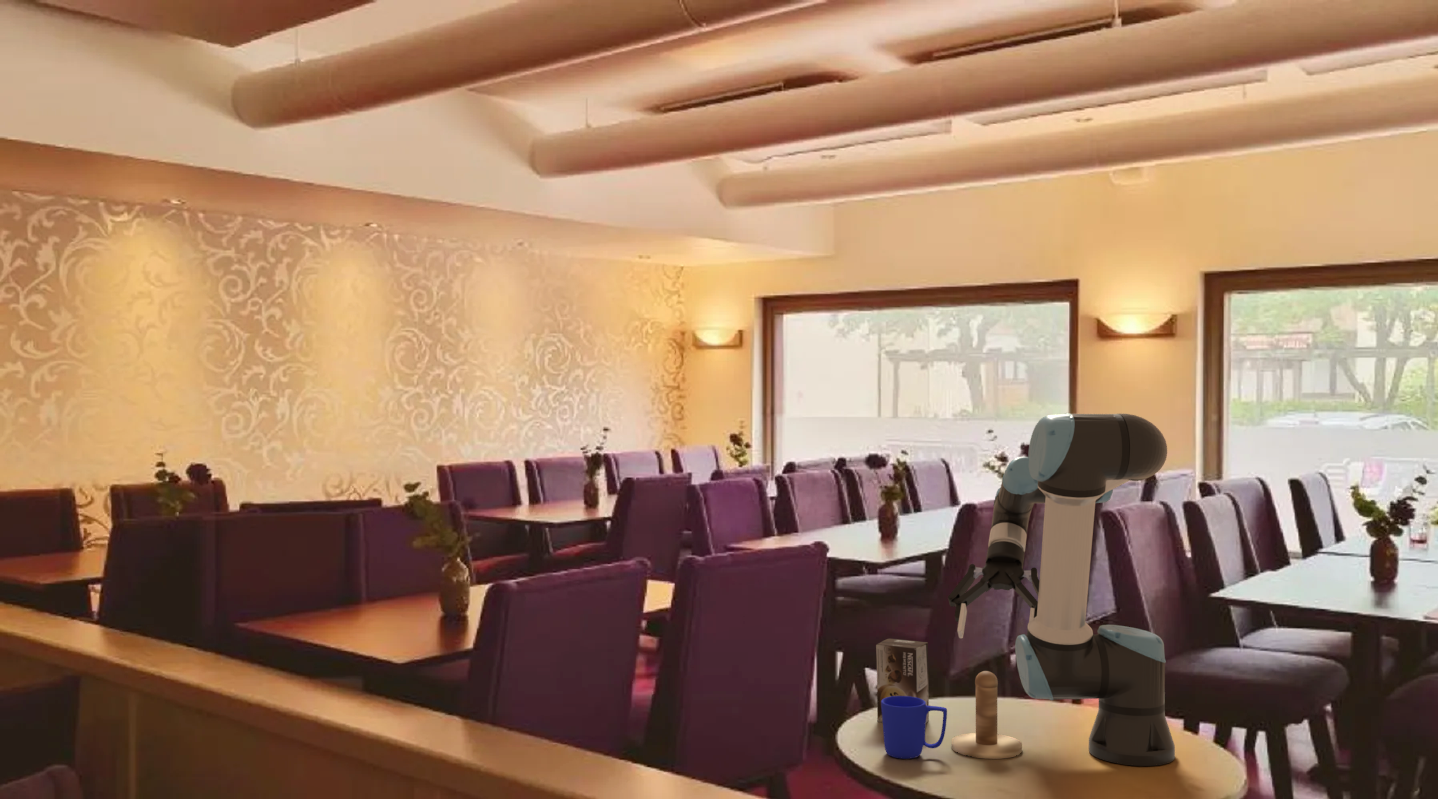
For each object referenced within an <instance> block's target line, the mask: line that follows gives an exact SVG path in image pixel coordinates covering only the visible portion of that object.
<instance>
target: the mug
mask: <svg viewBox="0 0 1438 799" xmlns="http://www.w3.org/2000/svg"><path fill="white" fill-rule="evenodd" d="M881 708H882V720H883V722H882V730H883V744H884V750H885V753H886V754H887V755H888V756H890V757H892V758H896V759H905V760H910V759H914V758H917V757H920V755H921V754H922V752H923V748H924V747H925V748H928V749H937V748H938V747H940V746H941V745H942V743H943V741H944V737H945V734H946V727H947V718H948V709H947V708H946V707H944V706H936V705H929V706H927V705H926V702H925V701H924V700H922V699H920V698H916V697H910V696H891V697H887V698H884V699H882V700H881ZM932 711H934V712H935V711H937V712H941V713H942V714H943V715H942V725H941V726H942V727H941V732H940V736H939V739H938V741H936V742H935V743H927V742H926V724H927V722H926V716H927V713H928V712H929V713H930V712H932Z"/></svg>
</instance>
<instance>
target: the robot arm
mask: <svg viewBox="0 0 1438 799" xmlns="http://www.w3.org/2000/svg"><path fill="white" fill-rule="evenodd" d="M1030 436H1031V437H1030V440H1029V447H1028V454H1027V455H1028V456H1017V457H1016V458H1014V459H1012V460H1011V461H1010V462H1009V463H1008V465H1007V467H1006V468H1005V471H1004V474H1003V475H1002V476H1003V477H1002V478H1001V485H1000V487H999V488H998V489H997V491H996V494H995V497H994V500H993V512H992V518H991V528H990V531H989V538H988V543H987V545H988V548H987V551H986V552H987V553H986V559H985V565H984V566H983V567H979V566H978V567H977V566H976V565H975V563H971V564H969V566H968V568H967V569H968V570H967V571H966V573H965V575H963V577H962V578H961V580H960V581H959V582H958V583H957V585H956V586H955V587H954V588H953V589H952V591H950V593H949V595H947V599H948V600H947V601H948V603H949V606H950V607H955V609H954V619H955V622H956V623H958V624H957V630H956V632H957V635H958V638H959V639H963V638H964V633H965V627H966V626H965V625H966V620H967V614H968V609H967V607H968V606H969V605H970V604H972V603H973V602H974V601H975V600H976V599H977V598H979V597H980V596H982V595H983V594H984V593H987V592H989V591H990V590H991V589H994V591H995V590H996V591H997V590H1004V591H1010V590H1012V589H1013V590H1014V591H1015V593H1016V594H1017V595H1019V596H1020V598H1021V599H1023V601H1024V602H1025V603H1026V604H1027V606H1029V608H1030V612H1029V619H1028V623H1027V627H1026V628H1027V630H1026V634H1025V633H1023V634H1020V635H1017V637H1016V639H1015V645H1014V648H1015V650H1014V652H1015V659H1016V660H1015V661H1016V666H1017V672H1018V675H1019V678H1020V682H1021V685H1022V687H1023V689H1024V690H1023V691H1024V692H1025V693H1026V694H1027V695H1028V696H1029V697H1030V698H1032V699H1039V700H1050V701H1054V700H1081V699H1082V700H1085V699H1086V700H1089V699H1090V700H1091V699H1095V700H1096V699H1098V709H1097V710H1098V711H1097V713H1096V716H1095V720H1094V723H1093V726H1092V727H1091V732H1090V734H1089V737H1088V751H1089V753H1090V754H1091V755H1092V756H1093V757H1096V758H1097V759H1099V760H1103V761H1105V762H1109V763H1112V764H1118V765H1125V766H1126V765H1127V766H1135V767H1136V766H1137V767H1150V766H1151V767H1152V766H1153V767H1154V766H1162V765H1166V764H1169V763H1171V762H1173V761H1174V760H1175V759H1176V752H1175V751H1176V747H1175V742H1174V740H1173V736H1172V733H1171V731H1170V727H1169V724H1168V721H1167V718H1166V714H1165V712H1166V710H1165V706H1166V704H1165V703H1166V702H1165V697H1166V696H1165V694H1166V692H1165V691H1166V690H1165V689H1166V688H1165V687H1166V686H1165V685H1166V683H1165V682H1166V663H1167V661H1166V658H1165V657H1166V656H1165V654H1166V653H1165V644H1164V640H1163V639H1162V638H1161V637H1160V635H1157V634H1156V633H1154V632H1151V631H1149V630H1144V629H1141V628H1136V627H1131V626H1130V627H1129V626H1124V625H1118V624H1102V625H1099V626H1098V629H1097V630H1096V631H1097V633H1096V634H1094V631H1093V629H1092V627H1091V626H1090V625H1089V624H1088V623H1087V622H1086V619H1087V618H1086V617H1087V615H1086V614H1087V608H1088V607H1087V605H1088V596H1089V594H1088V593H1089V581H1090V573H1091V572H1090V571H1091V570H1090V569H1091V558H1092V547H1093V546H1092V545H1093V537H1094V536H1093V533H1094V523H1095V522H1094V521H1095V511H1096V510H1095V509H1096V504H1099V503H1100V504H1101V503H1108V502H1109V500H1110V499H1111V497H1112V495H1113V491H1114V489H1116V488H1119V487H1120V486H1122V485H1124V484H1126V483H1129V482H1141V481H1143V480H1146V479H1148V478H1150V477H1152V476H1154V475H1156V474H1157V473H1158V472H1160V470H1161V469H1162V467H1163V466H1164V464H1165V462H1166V460H1167V456H1168V444H1167V441H1166V438H1165V436H1164V435H1163V433H1162V432H1161V430H1159V428H1158V427H1157V426H1156V425H1155V424H1154V423H1152V422H1150V421H1149V420H1148V419H1146V418H1144V417H1142V416H1139V415H1138V416H1137V415H1136V414H1129V413H1069V412H1066V413H1062V414H1061V413H1059V414H1049V415H1048V414H1047V415H1045V416H1043V417H1042V418H1040V419H1039V420H1038V422H1037V423H1036V424H1035V426H1034V428H1033V431H1032V433H1031V435H1030ZM1035 504H1044V514H1043V527H1042V528H1043V529H1042V540H1041V542H1042V543H1041V556H1040V569H1039V570H1040V571H1039V575H1038V568H1037V567H1031V569H1030V570H1024V561H1025V552H1026V547H1027V545H1026V544H1027V536H1028V528H1029V521H1030V516H1031V513H1032V510H1033V508H1034V505H1035ZM981 575H982V577H980V580H979V581H978V582H977V583H976V584H974V582H975V580H976V579H979V576H981ZM1025 578H1026V579H1027V580H1028V581H1029V582H1030V583H1032V587H1033V590H1034V591H1035V593H1036V596H1037V597H1038V598H1037V599H1036V598H1035V597H1034V595H1033V594H1032V593H1031V592H1030V590H1028V589H1027V588H1026V586H1025V585H1024V584H1023V582H1022V581H1024V580H1023V579H1025ZM972 584H974V585H973V586H972ZM971 586H972V587H971Z"/></svg>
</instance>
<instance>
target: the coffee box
mask: <svg viewBox="0 0 1438 799" xmlns="http://www.w3.org/2000/svg"><path fill="white" fill-rule="evenodd" d="M875 648H876V649H875V651H876V694H877V695H876V696H877V697H876V700H877V702H876V703H877V704H876V706H877V713H876V714H877V718H876V721H877V722H878V723H883V720H882V708H881V700H882V699H884V698H887V697H891V696H910V697H916V698H920V699H922V700H924V701H925V702H926V705H927V706H930V705H929V703H930V701H929V700H930V699H929V694H930V693H929V642H927V641H917V640H907V639H901V638H900V639H897V638H887V639H885V640H882V641H881V642H878V643H876V645H875ZM929 713H930V711H929V712H928V713H927V716H926V723H928V722H929V721H930V714H929Z"/></svg>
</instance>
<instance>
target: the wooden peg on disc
mask: <svg viewBox="0 0 1438 799" xmlns="http://www.w3.org/2000/svg"><path fill="white" fill-rule="evenodd" d="M998 680H999V679H998V678H997V676H996V675H995V673H993V672H991V671H989V670H983V671H981V672H979V673H978V674H977V675H976V676H975V680H974V684H975V685H974V686H975V732H969V733H962V734H958V735H956V736H954V737H952V738H951V749H952V751H954V752H956V753H957V752H958V754H959V755H962V756H966V755H969V756H968V757H970V756H972V758H975V759H976V758H977V759H986V760H987V759H990V760H992V759H993V760H996V759H997V760H1000V759H1001V760H1002V759H1009V758H1014V757H1017V756H1020V755H1021V754H1022V753H1021V752H1023V743H1022V741H1021V740H1019V739H1017V738H1015V737H1012V736H1009V735H1005V734H1000V733H998V686H999V685H998V684H999V683H998V682H999V681H998ZM1020 753H1021V754H1020ZM1016 755H1017V756H1016Z"/></svg>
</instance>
